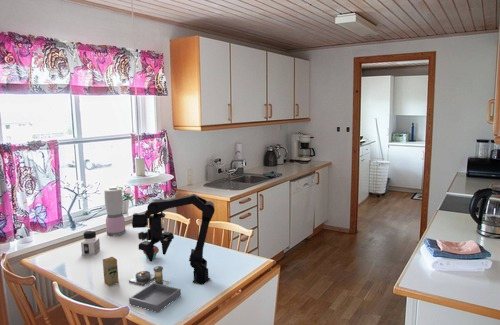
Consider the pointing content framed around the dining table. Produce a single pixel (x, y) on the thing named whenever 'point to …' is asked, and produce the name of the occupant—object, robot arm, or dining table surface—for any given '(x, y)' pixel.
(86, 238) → the container
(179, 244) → the dining table surface
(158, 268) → the gold cylinder with rim
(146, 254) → the cupcake
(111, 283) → the shoe polish box
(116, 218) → the blender
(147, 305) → the tray
